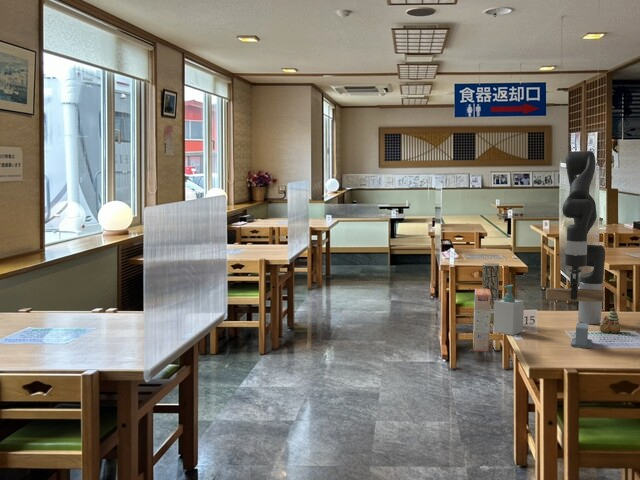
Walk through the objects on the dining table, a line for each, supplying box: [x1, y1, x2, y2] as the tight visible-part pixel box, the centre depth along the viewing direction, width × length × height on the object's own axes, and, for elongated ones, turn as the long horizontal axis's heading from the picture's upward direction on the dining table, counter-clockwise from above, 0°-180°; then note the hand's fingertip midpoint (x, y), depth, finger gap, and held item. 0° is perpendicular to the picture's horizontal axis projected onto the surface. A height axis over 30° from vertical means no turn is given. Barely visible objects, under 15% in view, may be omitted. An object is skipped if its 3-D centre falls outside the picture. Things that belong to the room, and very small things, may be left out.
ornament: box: [599, 307, 621, 334], centre depth 286 cm, size 8×6×10 cm
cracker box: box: [472, 288, 491, 353], centre depth 260 cm, size 14×6×21 cm, turn 168°
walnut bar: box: [545, 287, 605, 303], centre depth 266 cm, size 4×20×4 cm, turn 79°
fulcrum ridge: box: [570, 322, 593, 349], centre depth 266 cm, size 10×7×7 cm
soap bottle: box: [493, 284, 525, 336], centre depth 285 cm, size 9×9×19 cm
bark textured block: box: [481, 262, 500, 323], centre depth 305 cm, size 7×7×25 cm
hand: (574, 298), depth 266 cm, fingers closed on walnut bar, 4 cm apart
